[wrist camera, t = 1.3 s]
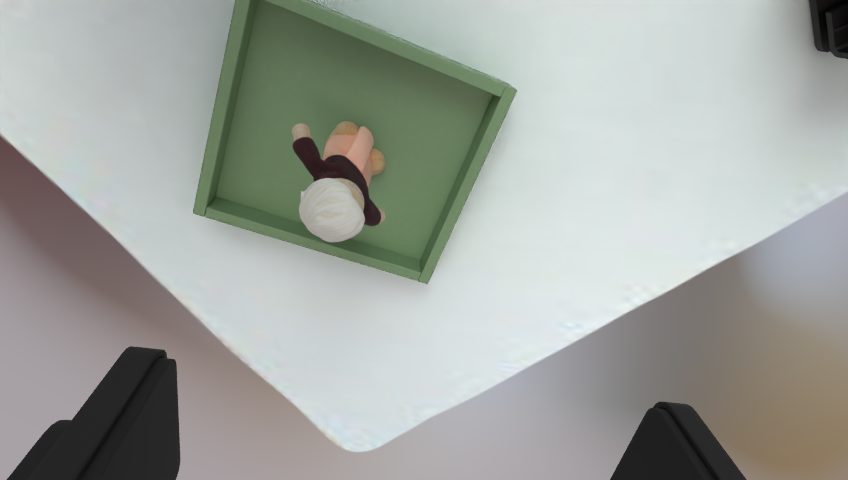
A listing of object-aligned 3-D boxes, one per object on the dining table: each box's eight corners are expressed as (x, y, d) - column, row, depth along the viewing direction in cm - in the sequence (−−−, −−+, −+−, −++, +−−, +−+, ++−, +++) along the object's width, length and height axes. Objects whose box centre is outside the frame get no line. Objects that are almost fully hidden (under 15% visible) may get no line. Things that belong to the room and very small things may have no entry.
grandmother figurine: (409, 159, 34) (420, 240, 23) (376, 197, 36) (371, 291, 24) (322, 87, 32) (286, 138, 21) (289, 131, 33) (237, 202, 22)
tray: (203, 200, 35) (192, 213, 33) (251, -25, 29) (240, -26, 27) (425, 268, 39) (427, 284, 37) (508, 84, 33) (517, 90, 31)
